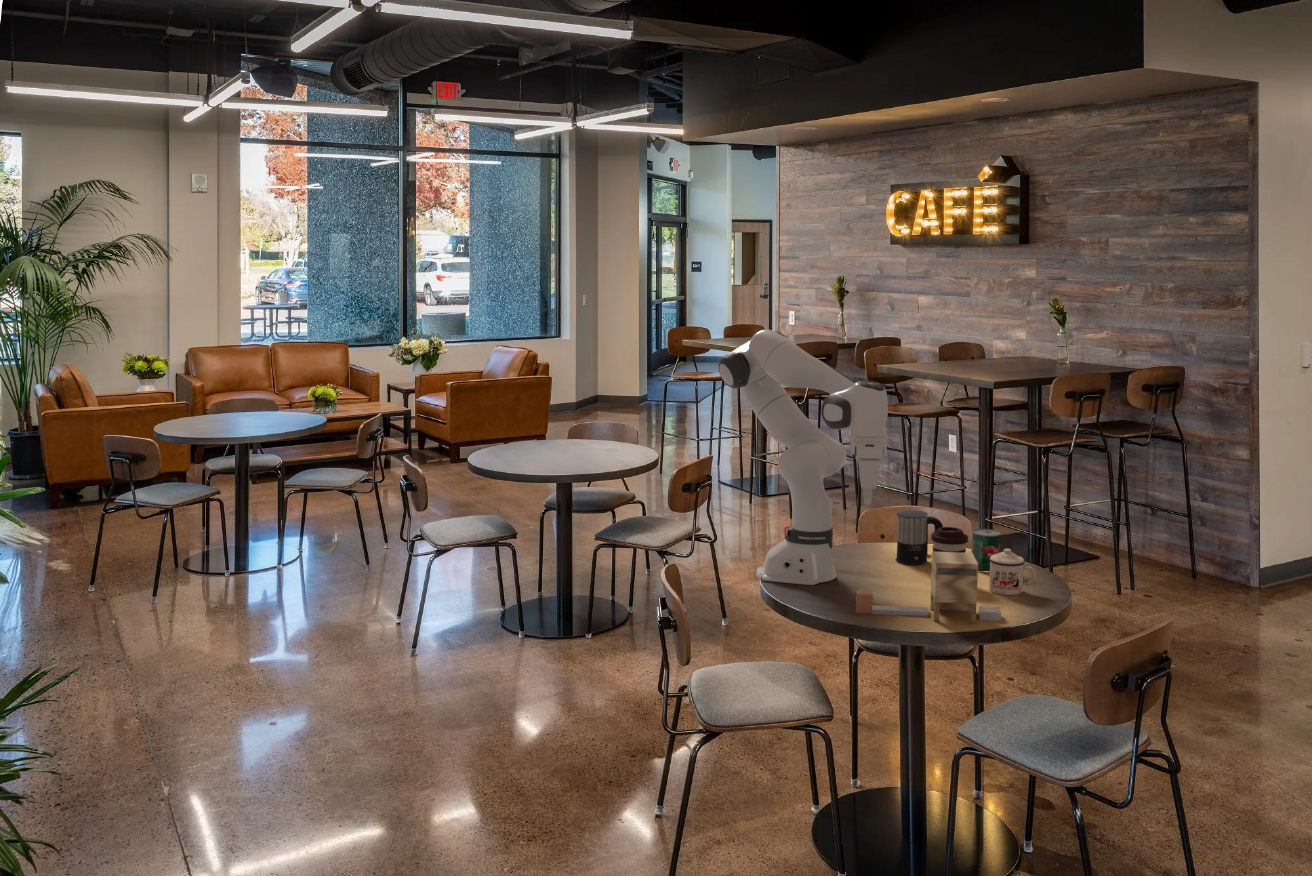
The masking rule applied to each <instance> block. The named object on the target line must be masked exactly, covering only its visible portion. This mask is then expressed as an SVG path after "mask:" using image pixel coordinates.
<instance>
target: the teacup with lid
mask: <svg viewBox="0 0 1312 876" xmlns="http://www.w3.org/2000/svg"><path fill="white" fill-rule="evenodd" d="M1025 564H1026V563H1025V559H1024V557H1022V556H1020V555H1017V554H1015V553H1014V552H1012V549H1011V548H1004V549H1003V551H1000V553H999V554H996V555H992V556H991V557H990V573H989V583H988V584H989V585H988V589H989V591H990V592H991V593H994V594H998V595H1002V596H1017V595H1021V594H1022V593H1023V585H1029V584H1032V583H1033V581H1035V578H1036V575H1037V574H1036V569H1034V568H1033V567H1032V566H1029V565H1025ZM1024 570H1030V571H1031V572H1032V577H1031V578H1030V579H1029V580H1026V581H1025V580H1024Z"/></svg>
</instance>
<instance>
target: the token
mask: <svg viewBox="0 0 1312 876" xmlns="http://www.w3.org/2000/svg"><path fill="white" fill-rule="evenodd" d="M977 607H978V613H977V615H978V617H979V621H992V622H1001V621H1002V612H1001V609H1000V606H986V605H978V606H977Z"/></svg>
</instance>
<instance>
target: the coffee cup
mask: <svg viewBox="0 0 1312 876" xmlns="http://www.w3.org/2000/svg"><path fill="white" fill-rule="evenodd" d="M930 537H931V541H932V543H933V545H932V551H933V552H961V553H967V552H966V550H967V549H966V544H967V543H968V541H969V536H968V535H967V534H966V533H964V532H963V529H961V528H959V527H954V526H943V527H941V528H938V529H937V531H936V532H932V533H931V536H930Z"/></svg>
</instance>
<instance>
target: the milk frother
mask: <svg viewBox="0 0 1312 876" xmlns="http://www.w3.org/2000/svg"><path fill="white" fill-rule="evenodd" d="M896 515H897V532H896V533H897V535H896V536H897V538H896V539H897V540H896V541H897V542H896V543H897V544H896V558H895V562H897V563H899V564H904V565H909V566H913V565H914V566H916V565H917V566H919V565H924V564H926V563H927V562H928V560H927V557H928V549H929V548H928V543H929V542H928V539H929V537H928V536H929V525H934V526H933V527H934V532H936V531H937V529H938V528H941V527H944V525H943V523H942V521H941V519H939V518H937V517H935V516H930V515H929V513H928V512H926V511H924V510H916V509H915V510H914V509H905V510H898V511H897V512H896ZM928 515H929V516H928ZM934 532H933V533H934Z"/></svg>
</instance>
